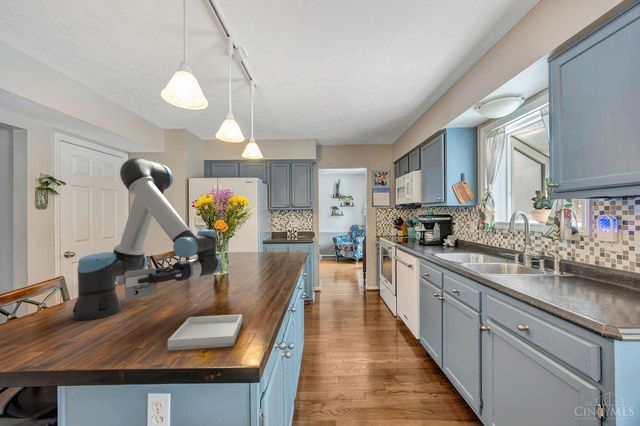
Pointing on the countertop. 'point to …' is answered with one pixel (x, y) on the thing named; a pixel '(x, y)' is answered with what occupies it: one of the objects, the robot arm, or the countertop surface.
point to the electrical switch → (140, 289)
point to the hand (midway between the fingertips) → (121, 281)
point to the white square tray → (206, 332)
